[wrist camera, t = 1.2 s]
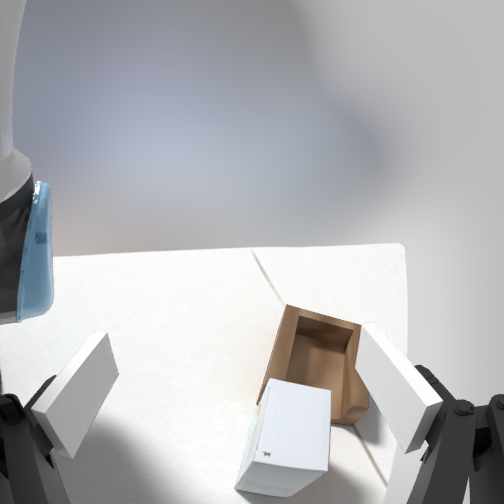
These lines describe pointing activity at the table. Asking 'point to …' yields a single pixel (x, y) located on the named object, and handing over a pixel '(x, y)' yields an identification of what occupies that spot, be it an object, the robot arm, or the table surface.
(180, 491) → the table surface
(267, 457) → the small box
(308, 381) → the rack
